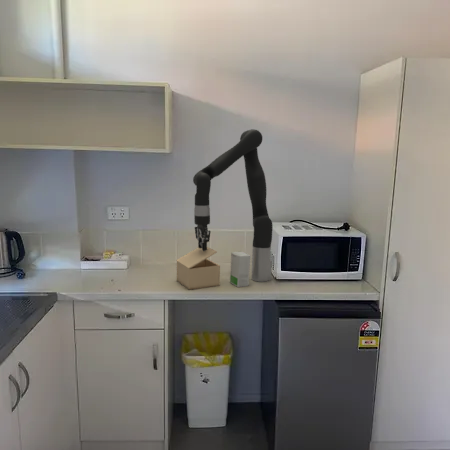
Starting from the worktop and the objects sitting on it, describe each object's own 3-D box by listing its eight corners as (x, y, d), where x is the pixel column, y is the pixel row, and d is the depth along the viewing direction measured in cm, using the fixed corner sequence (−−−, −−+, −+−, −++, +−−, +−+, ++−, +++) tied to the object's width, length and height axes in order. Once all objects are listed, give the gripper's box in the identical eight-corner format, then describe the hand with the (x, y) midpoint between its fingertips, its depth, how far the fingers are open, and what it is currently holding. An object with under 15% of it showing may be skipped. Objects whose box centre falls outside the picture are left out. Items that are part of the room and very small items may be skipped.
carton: (205, 276, 212) (206, 258, 211) (219, 285, 198) (220, 265, 197) (176, 280, 205) (176, 261, 203) (189, 289, 191) (189, 269, 189)
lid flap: (203, 245, 209) (199, 237, 207) (217, 252, 195) (213, 243, 193) (176, 261, 203) (172, 252, 201) (189, 269, 189) (184, 259, 188)
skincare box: (229, 282, 203) (230, 252, 201) (241, 281, 206) (241, 251, 204) (238, 287, 196) (238, 255, 193) (249, 285, 199) (250, 254, 196)
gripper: (215, 215, 192) (215, 251, 195) (203, 212, 205) (203, 245, 208) (201, 216, 189) (201, 253, 192) (189, 213, 201) (189, 247, 204)
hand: (202, 248), depth 200 cm, fingers closed on lid flap, 4 cm apart
